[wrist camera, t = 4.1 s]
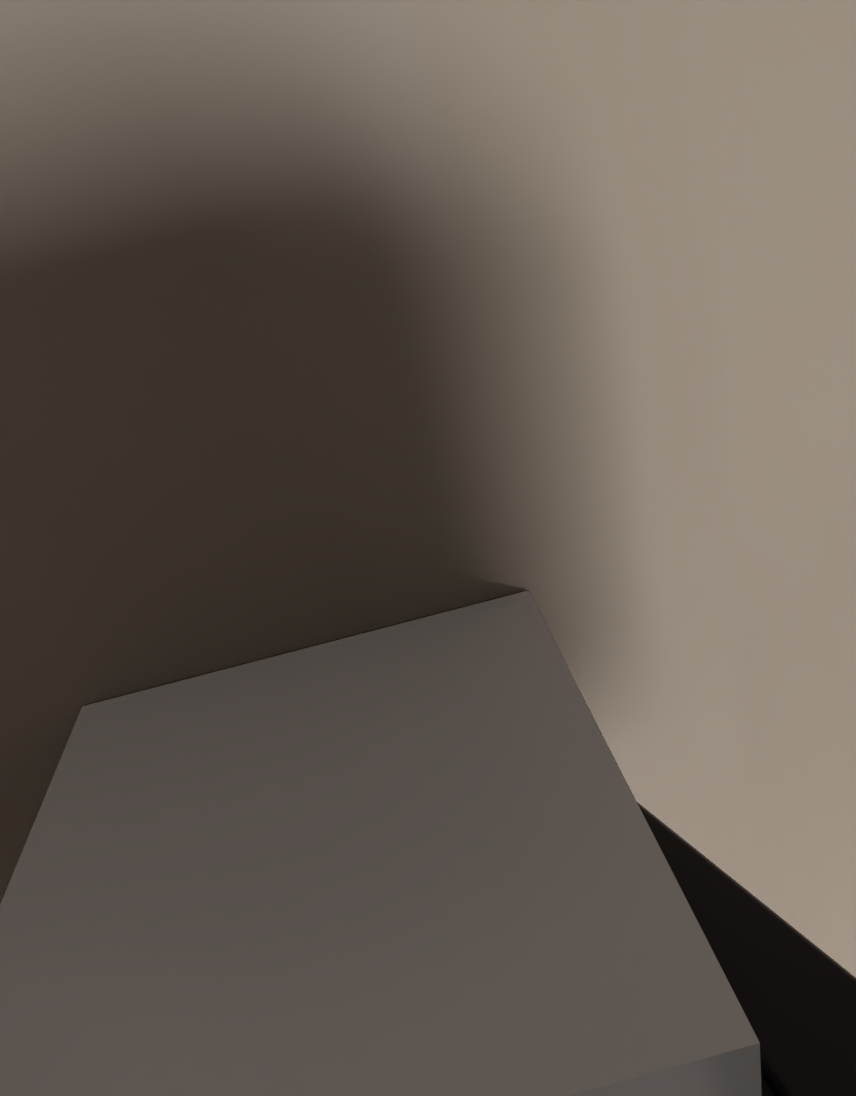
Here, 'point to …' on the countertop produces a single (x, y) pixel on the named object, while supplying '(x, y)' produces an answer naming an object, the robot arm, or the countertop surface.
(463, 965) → the grey cube
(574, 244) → the countertop surface
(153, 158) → the countertop surface
